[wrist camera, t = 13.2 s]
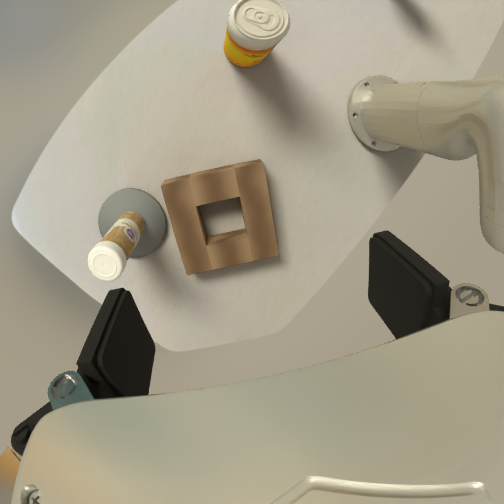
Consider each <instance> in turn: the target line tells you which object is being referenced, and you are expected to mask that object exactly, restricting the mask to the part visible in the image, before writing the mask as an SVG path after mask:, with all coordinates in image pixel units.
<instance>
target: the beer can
mask: <svg viewBox="0 0 504 504" xmlns="http://www.w3.org/2000/svg"><path fill="white" fill-rule="evenodd" d="M289 27H290V18H289V15H288V12H287V10H286V8H285V7H284V5H283V4H282V3H281V2H279V1H278V0H239V1H238V2H237V3H236V4H235V5H234V6H233V7H232V8H231V10H230V12H229V16H228V22H227V28H226V35H225V41H224V52H225V55H226V57H227V58H228V59H229V60H230V61H231V62H232V63H234V64H236V65H238V66H242V67H250V66H254V65H257V64H258V63H260V62H261V61H262V60H263V59H264V58H265V57H266V56H267V55H268V54H269V53H270V51H271V50H272V49H273V48H274V47H275V46H276V45H277V44H278V43H279V42H280V41H281V40H282V39H283V37H284V36H285V35H286V34H287V32H288V30H289Z"/></svg>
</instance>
